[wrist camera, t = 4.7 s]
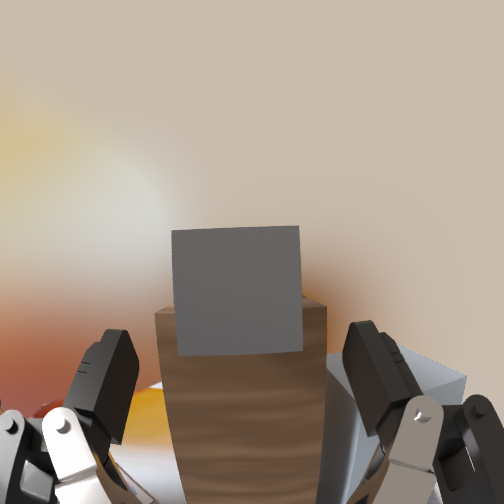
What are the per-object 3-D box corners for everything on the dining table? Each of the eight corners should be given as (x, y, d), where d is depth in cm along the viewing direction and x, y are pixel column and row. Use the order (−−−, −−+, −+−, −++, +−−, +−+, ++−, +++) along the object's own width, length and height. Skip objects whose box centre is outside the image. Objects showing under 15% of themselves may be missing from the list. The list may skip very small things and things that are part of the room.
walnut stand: (304, 562, 16) (326, 306, 18) (208, 566, 16) (154, 313, 17) (289, 496, 30) (290, 289, 32) (214, 499, 30) (191, 293, 31)
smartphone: (120, 518, 22) (79, 467, 31) (122, 521, 22) (80, 471, 31) (158, 501, 28) (111, 457, 37) (160, 504, 28) (112, 461, 37)
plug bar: (302, 350, 9) (296, 194, 9) (178, 355, 9) (171, 199, 9) (259, 292, 31) (257, 245, 31) (221, 293, 31) (219, 246, 31)
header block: (413, 530, 17) (469, 374, 18) (329, 557, 16) (362, 407, 18) (377, 478, 31) (398, 342, 32) (308, 493, 30) (316, 355, 32)
